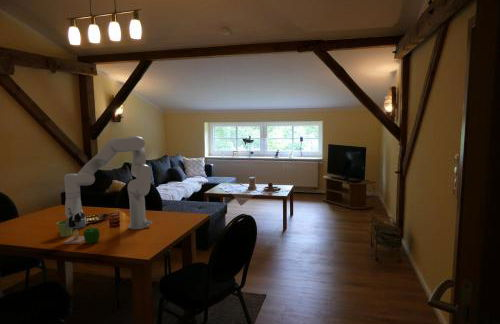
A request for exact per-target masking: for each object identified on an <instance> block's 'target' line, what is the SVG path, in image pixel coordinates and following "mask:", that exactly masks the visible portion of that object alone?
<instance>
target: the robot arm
mask: <svg viewBox="0 0 500 324" xmlns="http://www.w3.org/2000/svg"><path fill="white" fill-rule="evenodd" d="M145 145H146V143H145V139H144V138H143V137H141V136H138V135H137V136H135V135H130V136H127V137H124V138H123V137H112V138H110V139H109V140H108V141H107V142H106V143H105V144H104V146H103V147H102V148H101V149H100V150H99V152H98V153H97V154H95V156H93V157H92V158H91V159H90V160H88V161H87V162H86V163H85V164H84V165H83V166H82V168H80V170H79V171H78V172H77V173H67V174H65V175H64V189H65V190H64V191H65V202H64V211H65V212H64V213H65V214H64V215H65V217H66V218H67V219H66V220H68V221H69V227H75V220H81V217H80V216H81V213H82V212H81V211H82V210H83V208H82V200H81V186H91V185H92V184H94V183H95V181H96V177H95V175H94V174H95V173H96V172H98V170H99V169H101V168H103V167H105V166H107V165H109V163H111V161H112V160H113V159H114V158H115V156H116V155H118V153H129V152H131V154H132V155H131V157H132V159H131V168H130V169H131V170H130V173H131V175H132V177H135V179H132V180H130V181H129V182H128V184H127V194H128V199H129V217H130V224H128V226H127V227H128V229H130V230H142V229H145V228H146V229H147V228H148V227H149V225H152V224H153V220H148V219H147V218H146V198H145V196H147V195H148V194H149V192H150V190H151V182H152V169H151V167H150V166H149V164H147V163H146V162H147V152H146V149H145ZM71 214H72V215H71ZM74 215H76V217H75V220H74ZM70 216H72V217H70Z"/></svg>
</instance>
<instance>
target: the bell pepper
mask: <svg viewBox="0 0 500 324" xmlns="http://www.w3.org/2000/svg"><path fill="white" fill-rule="evenodd" d="M89 227H90V228H86V229H85V230H84V231H83V236H84V238H85V241H84V242H85V243H86V244H88V245H89V244H90V245H91V244H95V243H98V241H100V240H99V239H100V229H99V227H93V226H92V224H89Z"/></svg>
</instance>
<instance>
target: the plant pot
mask: <svg viewBox="0 0 500 324" xmlns="http://www.w3.org/2000/svg"><path fill="white" fill-rule="evenodd" d="M66 222H68V219H64V220H59V221H57V222H56V225H57V227H58V230H59V235H60V238H61V237H62V238H65V237H66V238H69V237H72V235H73V229H72V228H65V223H66Z"/></svg>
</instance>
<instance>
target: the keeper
mask: <svg viewBox="0 0 500 324" xmlns="http://www.w3.org/2000/svg"><path fill="white" fill-rule="evenodd" d="M72 233H73V236H72V235H71V236H69V237H68V239H66V240H64V241H63V242H62V244H63V245H75V244H76V245H78V244H79V245H81V244H82V243H84V242H86V241H85V238H84V235H79V229H75V230H74V229H72Z"/></svg>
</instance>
